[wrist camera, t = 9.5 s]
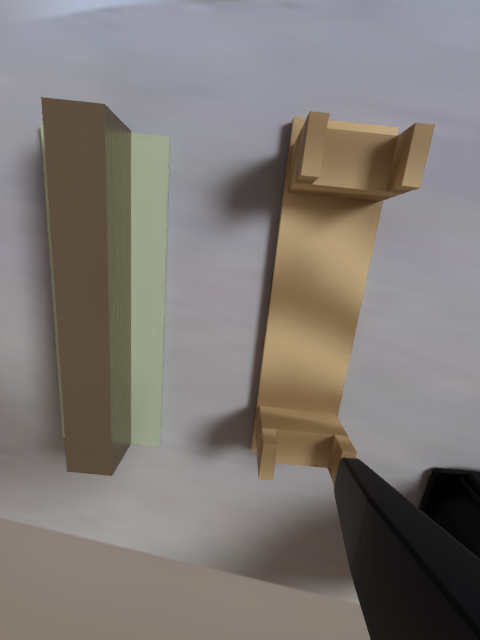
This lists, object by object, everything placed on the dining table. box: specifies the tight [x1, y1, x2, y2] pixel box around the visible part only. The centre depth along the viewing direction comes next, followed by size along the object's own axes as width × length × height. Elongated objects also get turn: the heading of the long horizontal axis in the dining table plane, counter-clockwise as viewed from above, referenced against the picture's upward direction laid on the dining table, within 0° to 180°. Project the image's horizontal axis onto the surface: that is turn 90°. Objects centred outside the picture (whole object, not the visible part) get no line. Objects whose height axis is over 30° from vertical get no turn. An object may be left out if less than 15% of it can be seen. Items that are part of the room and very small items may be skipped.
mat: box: [40, 123, 170, 447], centre depth 18 cm, size 20×7×1 cm, turn 174°
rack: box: [251, 111, 435, 485], centre depth 16 cm, size 21×6×4 cm, turn 174°
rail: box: [41, 97, 131, 476], centre depth 16 cm, size 20×3×3 cm, turn 174°
